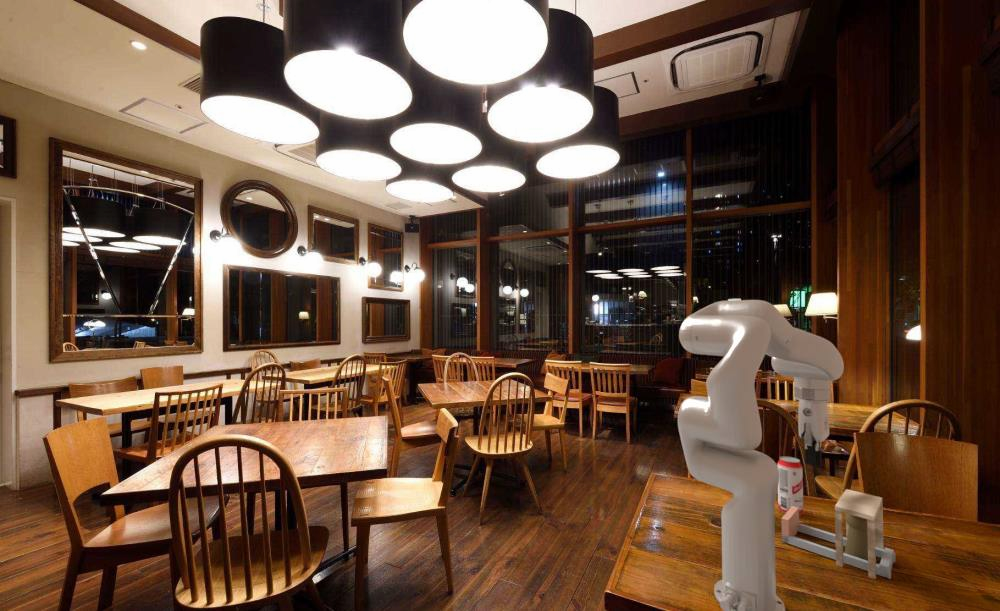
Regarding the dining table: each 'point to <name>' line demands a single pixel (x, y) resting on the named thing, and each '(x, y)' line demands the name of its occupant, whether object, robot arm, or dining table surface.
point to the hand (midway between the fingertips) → (813, 464)
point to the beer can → (790, 484)
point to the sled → (793, 526)
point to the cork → (857, 537)
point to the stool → (862, 508)
